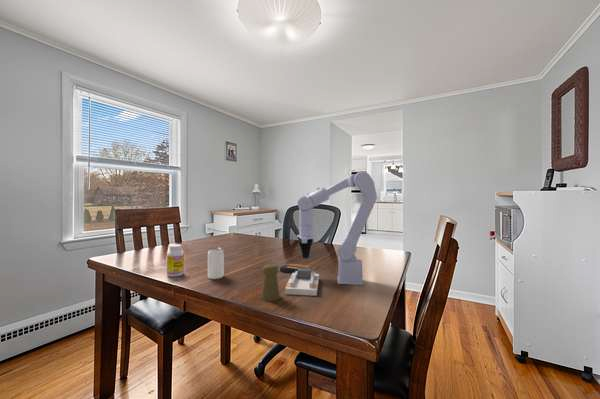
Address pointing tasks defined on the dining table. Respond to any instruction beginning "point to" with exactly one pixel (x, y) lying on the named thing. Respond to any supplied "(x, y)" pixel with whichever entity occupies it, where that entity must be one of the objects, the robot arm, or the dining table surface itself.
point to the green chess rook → (270, 283)
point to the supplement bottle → (175, 261)
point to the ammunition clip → (292, 268)
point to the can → (215, 263)
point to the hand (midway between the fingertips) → (306, 257)
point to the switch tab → (304, 273)
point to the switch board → (302, 285)
